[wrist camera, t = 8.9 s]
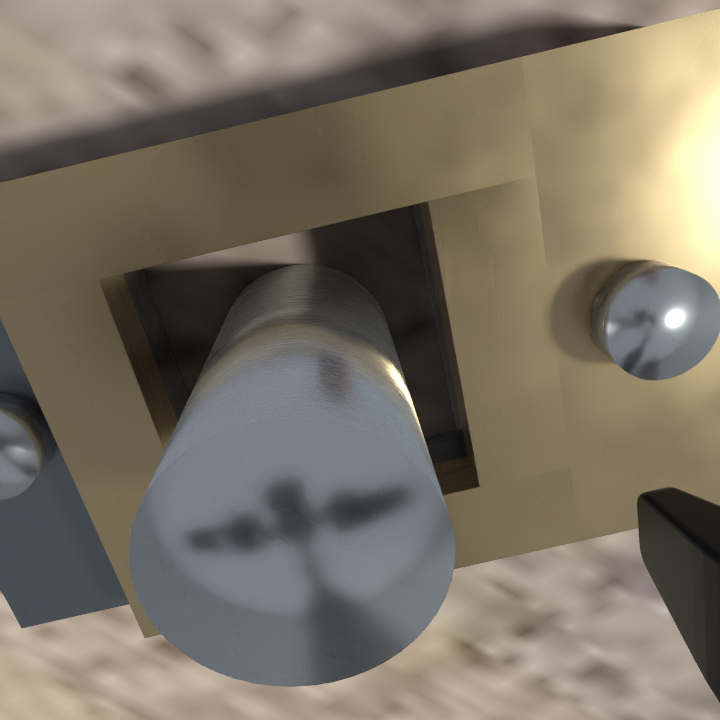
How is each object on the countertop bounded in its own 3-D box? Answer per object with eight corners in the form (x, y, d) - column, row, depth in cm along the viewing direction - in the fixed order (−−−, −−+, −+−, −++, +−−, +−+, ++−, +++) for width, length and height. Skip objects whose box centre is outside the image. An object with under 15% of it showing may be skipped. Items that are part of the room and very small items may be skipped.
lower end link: (541, 479, 19) (572, 529, 17) (42, 591, 20) (5, 655, 17) (484, 67, 15) (514, 58, 13) (-147, 219, 15) (-230, 238, 13)
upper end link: (673, 449, 19) (758, 530, 15) (169, 563, 20) (134, 668, 16) (652, 27, 15) (761, -3, 11) (13, 180, 15) (-86, 202, 12)
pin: (404, 401, 18) (478, 650, 10) (248, 437, 18) (188, 713, 10) (370, 246, 16) (422, 383, 8) (200, 286, 17) (77, 462, 8)
